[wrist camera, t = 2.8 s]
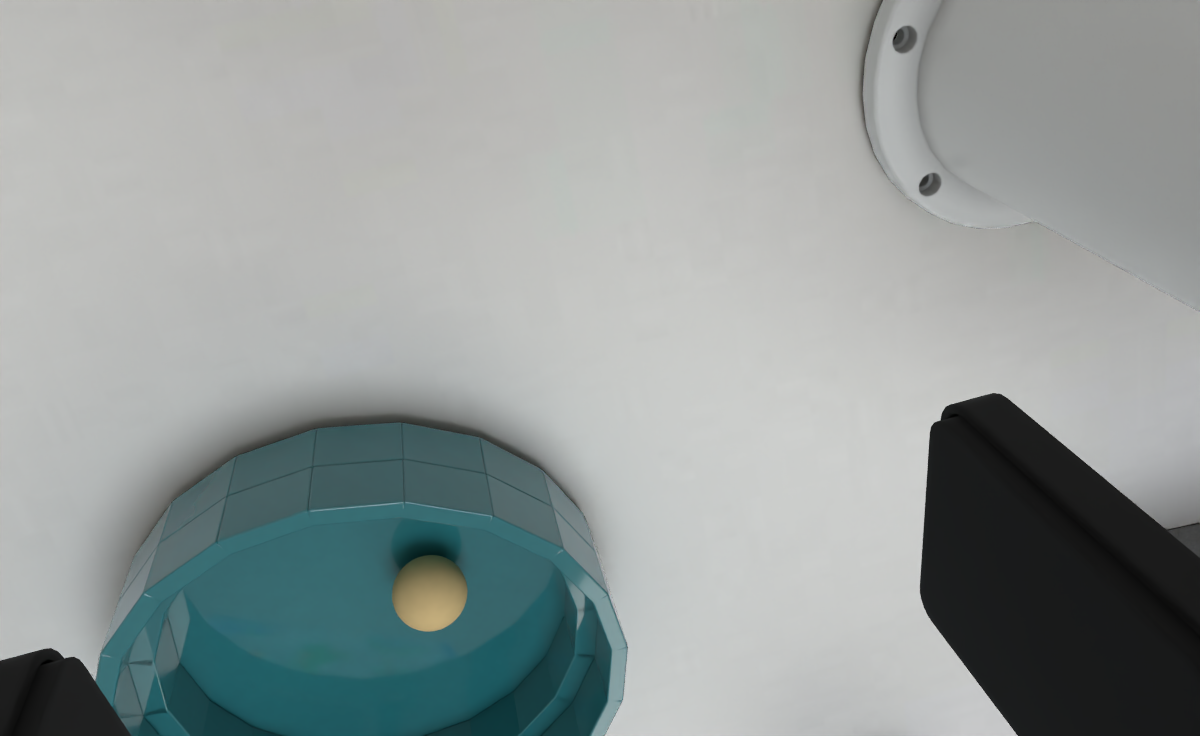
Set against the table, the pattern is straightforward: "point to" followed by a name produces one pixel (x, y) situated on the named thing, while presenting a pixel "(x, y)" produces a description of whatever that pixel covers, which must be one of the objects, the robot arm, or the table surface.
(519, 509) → the bowl
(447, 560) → the tan ball
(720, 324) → the table surface
